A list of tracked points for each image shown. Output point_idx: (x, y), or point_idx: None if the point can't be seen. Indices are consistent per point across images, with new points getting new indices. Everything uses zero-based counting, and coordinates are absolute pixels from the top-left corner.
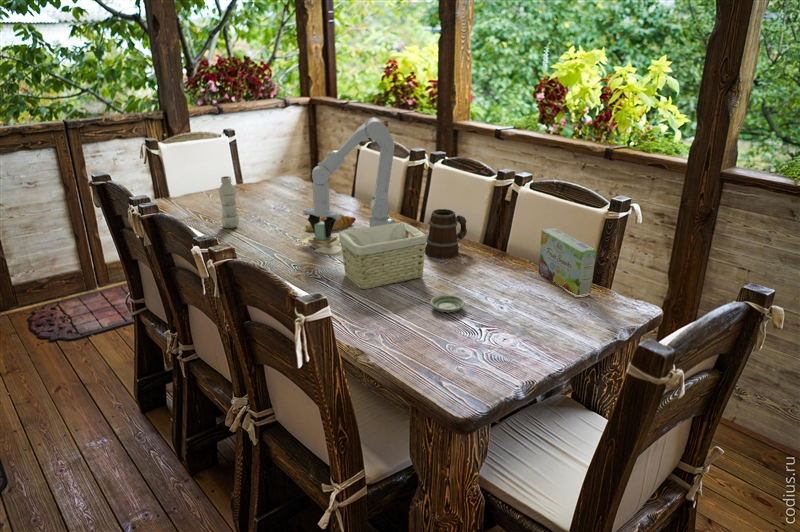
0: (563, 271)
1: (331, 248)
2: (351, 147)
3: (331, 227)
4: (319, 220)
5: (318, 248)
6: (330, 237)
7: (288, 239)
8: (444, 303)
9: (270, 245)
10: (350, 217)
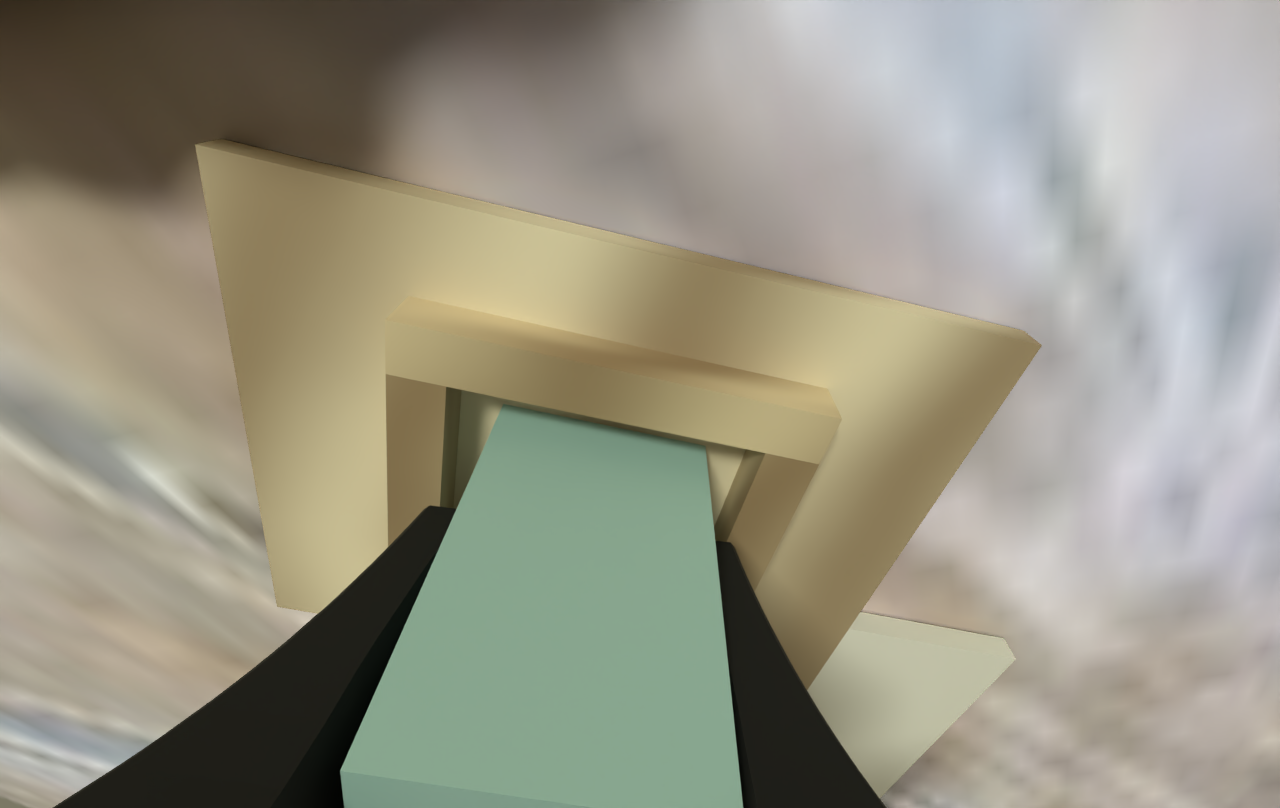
0: None
1: (823, 702)
2: None
3: (792, 731)
4: (272, 805)
5: None
6: (707, 474)
7: (36, 502)
8: None
9: (73, 688)
10: None
